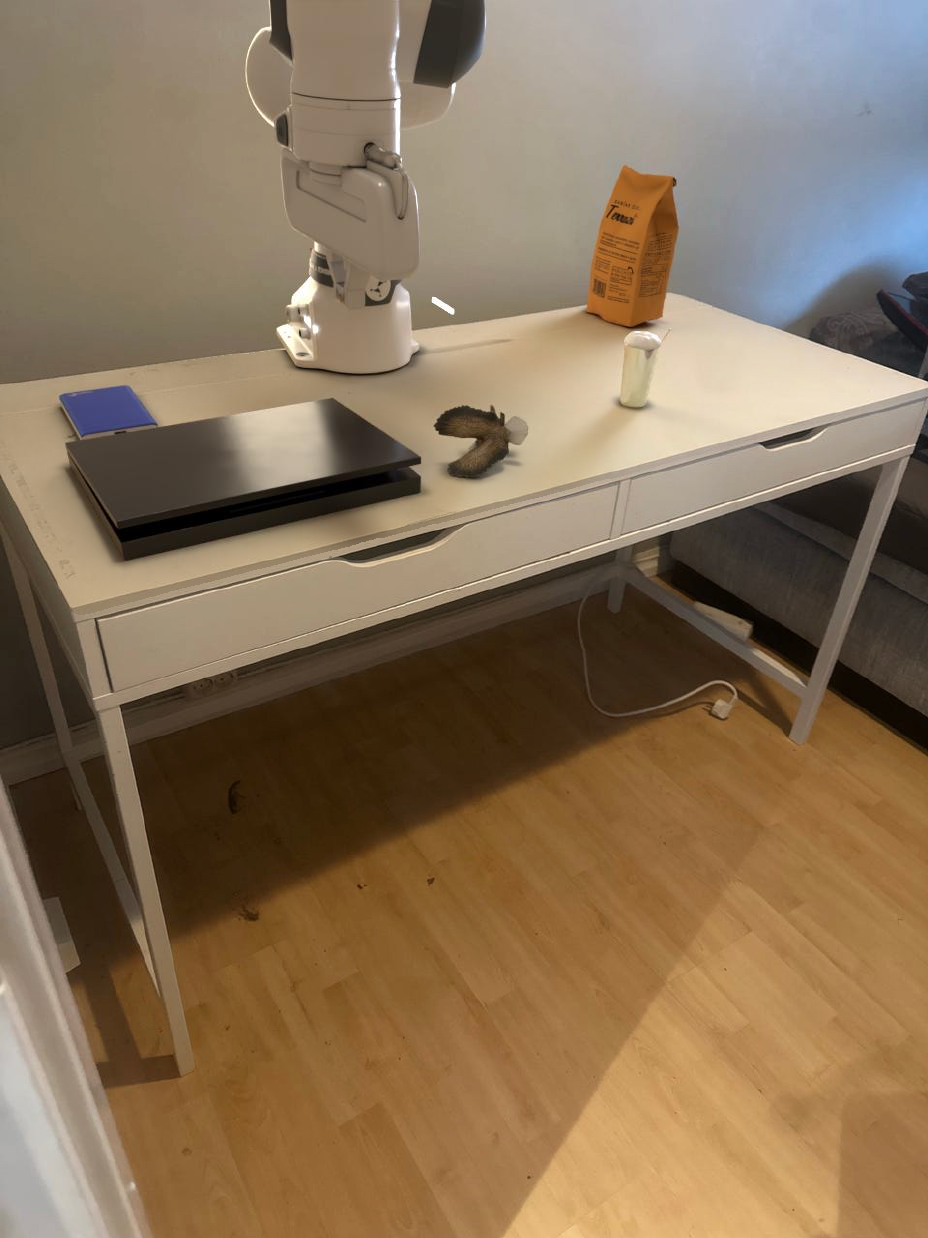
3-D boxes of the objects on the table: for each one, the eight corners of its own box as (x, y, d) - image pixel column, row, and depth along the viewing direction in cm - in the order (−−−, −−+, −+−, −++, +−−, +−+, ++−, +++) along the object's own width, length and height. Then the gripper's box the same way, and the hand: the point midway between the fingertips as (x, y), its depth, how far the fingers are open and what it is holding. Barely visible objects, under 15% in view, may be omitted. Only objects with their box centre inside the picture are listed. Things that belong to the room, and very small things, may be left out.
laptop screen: (421, 465, 90) (421, 456, 90) (118, 530, 77) (116, 521, 76) (333, 405, 105) (333, 397, 105) (66, 450, 92) (64, 442, 91)
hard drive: (57, 393, 104) (80, 433, 96) (129, 383, 108) (157, 421, 99) (60, 406, 105) (83, 447, 97) (131, 396, 109) (159, 434, 100)
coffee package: (620, 303, 154) (641, 161, 142) (670, 323, 146) (697, 175, 133) (575, 309, 150) (593, 164, 137) (624, 330, 141) (648, 178, 129)
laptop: (420, 492, 92) (421, 475, 91) (124, 561, 78) (120, 542, 77) (333, 419, 106) (333, 404, 105) (70, 466, 93) (66, 450, 91)
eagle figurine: (472, 428, 103) (419, 435, 97) (508, 386, 99) (455, 390, 92) (507, 480, 102) (456, 491, 95) (545, 440, 97) (494, 448, 91)
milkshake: (656, 412, 113) (670, 333, 108) (613, 407, 114) (626, 329, 108) (656, 399, 117) (671, 323, 111) (616, 394, 118) (628, 318, 112)
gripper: (442, 155, 68) (435, 335, 76) (331, 116, 82) (335, 272, 90) (368, 157, 65) (368, 345, 73) (265, 117, 79) (275, 278, 87)
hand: (349, 304), depth 82 cm, fingers closed
